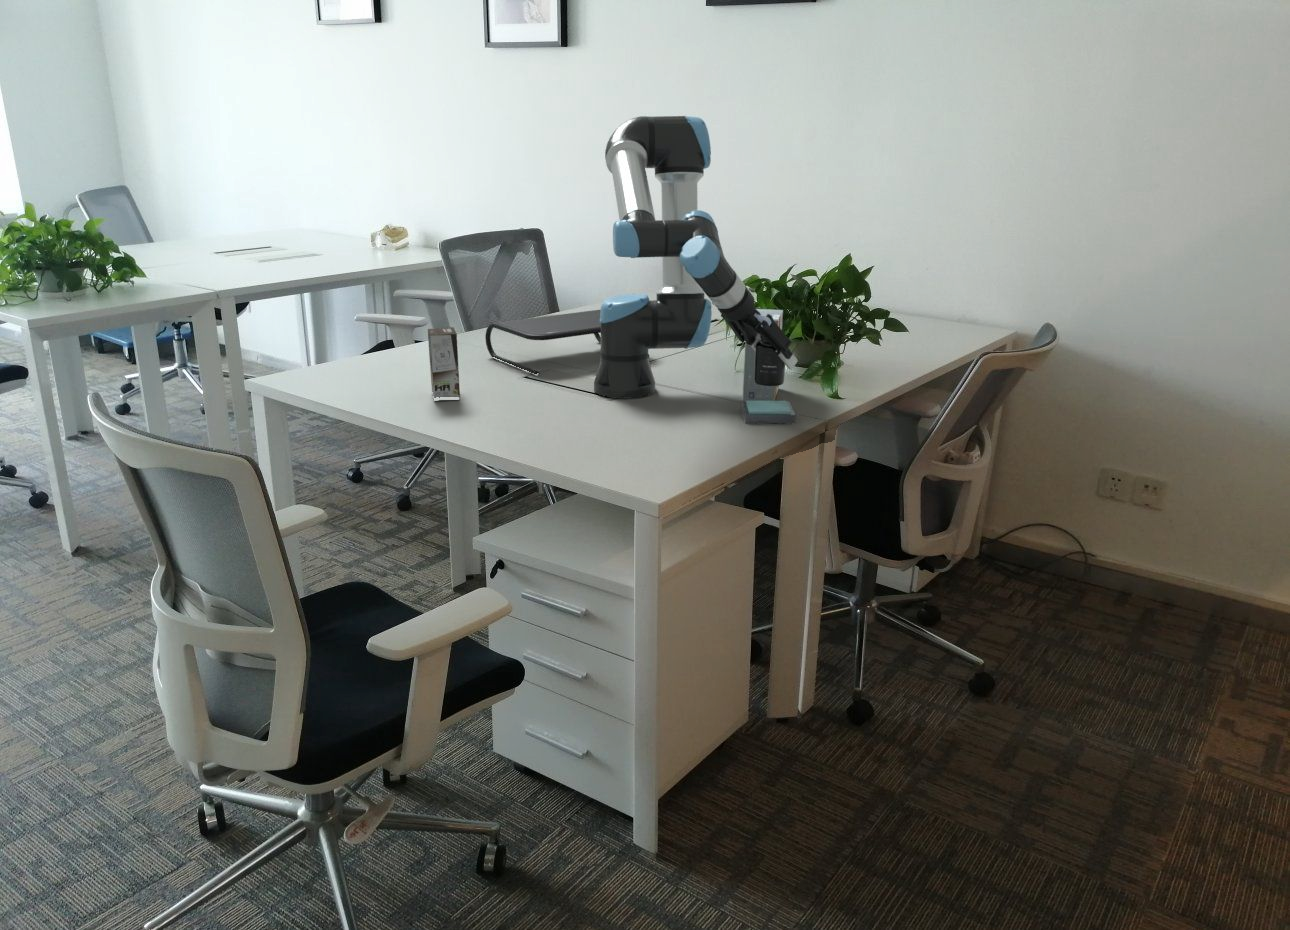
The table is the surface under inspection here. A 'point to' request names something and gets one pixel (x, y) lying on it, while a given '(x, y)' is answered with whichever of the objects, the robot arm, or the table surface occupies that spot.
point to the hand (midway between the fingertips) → (781, 361)
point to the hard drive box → (749, 386)
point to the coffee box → (444, 362)
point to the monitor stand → (548, 329)
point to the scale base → (767, 416)
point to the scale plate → (768, 407)
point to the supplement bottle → (768, 365)
